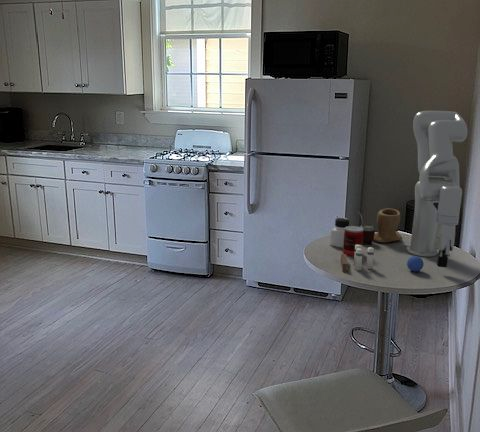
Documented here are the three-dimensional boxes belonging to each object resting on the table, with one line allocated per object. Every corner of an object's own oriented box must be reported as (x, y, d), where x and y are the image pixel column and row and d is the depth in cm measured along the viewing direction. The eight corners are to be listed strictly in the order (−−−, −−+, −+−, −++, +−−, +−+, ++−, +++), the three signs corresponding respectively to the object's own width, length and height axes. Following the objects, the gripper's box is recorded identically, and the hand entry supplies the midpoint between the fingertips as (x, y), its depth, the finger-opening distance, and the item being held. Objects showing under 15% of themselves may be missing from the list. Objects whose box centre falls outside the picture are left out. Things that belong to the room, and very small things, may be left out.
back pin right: (358, 263, 202) (360, 244, 200) (360, 266, 199) (362, 246, 197) (352, 263, 201) (354, 244, 199) (354, 266, 199) (356, 246, 197)
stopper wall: (345, 261, 204) (346, 254, 203) (347, 271, 193) (348, 264, 192) (340, 260, 204) (341, 253, 204) (342, 271, 193) (343, 263, 192)
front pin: (370, 266, 199) (372, 247, 197) (373, 269, 196) (375, 249, 194) (364, 266, 198) (366, 247, 196) (367, 269, 196) (369, 249, 194)
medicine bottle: (345, 248, 221) (347, 221, 218) (329, 245, 224) (331, 219, 221) (350, 244, 227) (353, 218, 224) (335, 241, 230) (337, 215, 227)
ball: (418, 268, 199) (419, 253, 197) (425, 273, 193) (427, 258, 191) (403, 268, 198) (405, 253, 196) (410, 274, 192) (412, 259, 191)
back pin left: (359, 268, 197) (361, 248, 195) (362, 270, 194) (363, 250, 192) (353, 268, 196) (355, 248, 194) (355, 270, 194) (357, 250, 192)
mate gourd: (375, 242, 230) (378, 210, 227) (370, 246, 224) (373, 213, 220) (359, 239, 234) (362, 207, 231) (353, 243, 228) (356, 211, 224)
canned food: (360, 251, 218) (362, 226, 215) (362, 257, 210) (364, 231, 207) (341, 250, 218) (343, 225, 216) (343, 256, 211) (345, 230, 208)
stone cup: (382, 246, 225) (385, 213, 222) (365, 238, 236) (368, 207, 232) (409, 243, 231) (413, 211, 227) (392, 236, 242) (395, 205, 238)
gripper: (432, 214, 196) (427, 259, 200) (442, 223, 182) (436, 272, 186) (452, 215, 196) (446, 261, 200) (464, 224, 181) (457, 273, 185)
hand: (441, 266), depth 193 cm, fingers closed
